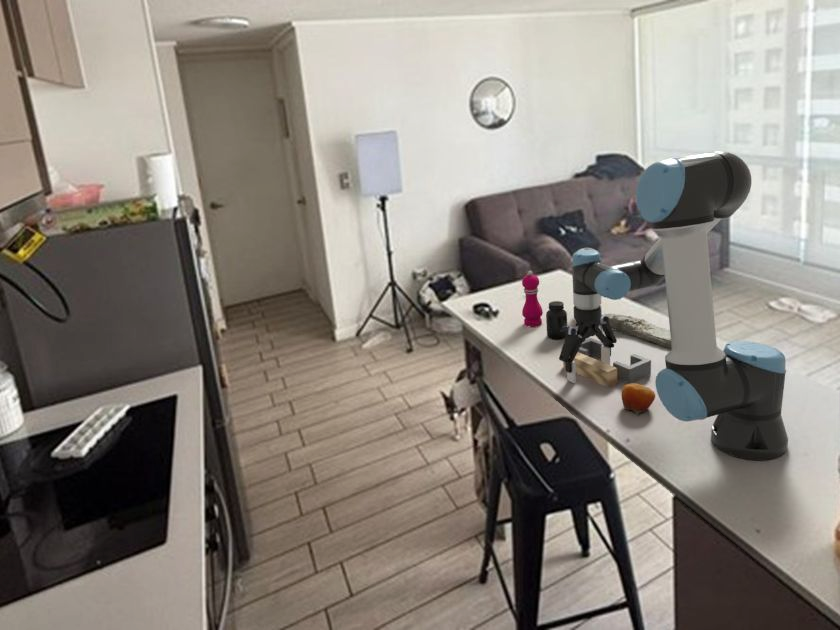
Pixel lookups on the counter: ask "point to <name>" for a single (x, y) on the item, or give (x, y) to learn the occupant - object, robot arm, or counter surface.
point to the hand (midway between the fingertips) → (589, 374)
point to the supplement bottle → (556, 321)
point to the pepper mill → (531, 301)
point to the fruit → (637, 397)
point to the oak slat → (595, 370)
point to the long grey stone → (640, 329)
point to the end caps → (625, 373)
